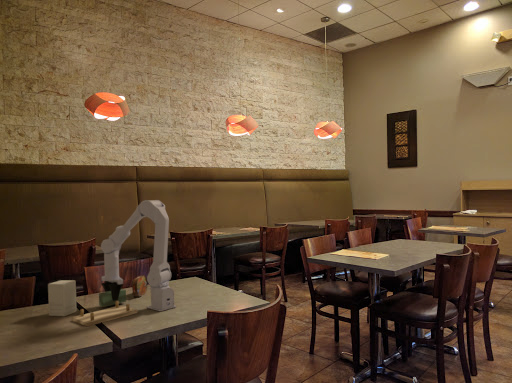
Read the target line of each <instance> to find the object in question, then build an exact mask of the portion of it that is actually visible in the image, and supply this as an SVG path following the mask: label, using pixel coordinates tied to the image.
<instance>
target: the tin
mask: <svg viewBox="0 0 512 383" xmlns="http://www.w3.org/2000/svg"><path fill="white" fill-rule="evenodd" d="M131 289H132V295H133V297H134V298H136V297H137V298H139V297H142V296H143V295H144V294H145V293H147V290H148V281H147V276H146V275H139V276H137V277H135V278H134V279H133V280H132V283H131Z"/></svg>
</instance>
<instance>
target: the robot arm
mask: <svg viewBox="0 0 512 383" xmlns="http://www.w3.org/2000/svg"><path fill="white" fill-rule="evenodd" d="M144 218H148V219H150V220H151V221H152V222H153V223H154V241H153V256H152V257H153V260H152V261H153V262H152V264H151V265H150V267H149V272H148V274H147V276H146V279H147V284H149V286H150V302H151V303H150V305H148V306H146V308H147V309H151V310H154V311H157V312H162V311H163V312H164V311H167V310H170V309H173V308H176V307H177V305H175V291H174V289H173V288H172V287H170V281H171V278H172V272H171V266H170V264H169V262H168V248H169V247H168V245H169V232H170V231H169V230H170V229H169V228H170V227H169V226H170V219H169V216H168V213H167V210H166V205H165V204H164V203H163V202H162V201H161V200H159V199H155V200H153V199H152V200H148V199H145V200H142V201H141V202H140V203H139V204H138V205H136V209H135V210H134V212H133V213H132V214H131V215H130V217H129V218H128V219H127V220H126V222H125V223H124V224H123V225H119V226H117V227H115V231H113V233H112V234H110V235H109V236H108V238H107V239H104V240H102V242H101V244H100V249H101V251H102V252H103V258H104V259H103V260H104V265H103V266H104V275H102V276H101V282H102V283H101V286H102V287H103V290H104V292H108V291H111V293H112V299H113V301H115V300H118V298H119V293H120V290H121V289H123V286H124V279H123V278H122V277H120V264H119V263H120V261H119V260H120V259H119V255H120V251H121V248H122V244H124V243H125V241H127V239H128V238H129V237H130V236H131V230H132V229H133V228H134V227H135V226H136V225H138V223H140V221H141V220H142V219H144Z"/></svg>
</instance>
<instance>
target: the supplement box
mask: <svg viewBox="0 0 512 383" xmlns="http://www.w3.org/2000/svg"><path fill="white" fill-rule="evenodd" d="M76 285H77V283H76V280H73V279H72V280H70V279H69V280H61V279H59V280H57V281H54V282H49V283H47V294H48V316H49V317H50V316H52V317H66V316H69V315H71V314H73V313H76V312H77V286H76Z"/></svg>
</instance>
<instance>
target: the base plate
mask: <svg viewBox="0 0 512 383" xmlns="http://www.w3.org/2000/svg"><path fill="white" fill-rule="evenodd" d="M119 304H120V303H119V301H115V304H114V305H115V306H113V307H109V308H104V309H101V310H96V311H93V312H92V311H91V312H88V313H85V310H84V308H80V310H79V312H80V313H79V315H76V316H72V317H71V320H72V322H75V323H77V324H80V325H83V326H85V327H90V326H93V325H98V324H101V322H102V323H106V322H108V321H114V320H116V319H120V318H125V317H127V316H131V315H134V314H138V309H135V308H132V307H130V304H129V303H126V305H122V304H121V305H119ZM84 313H85V314H84Z"/></svg>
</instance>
